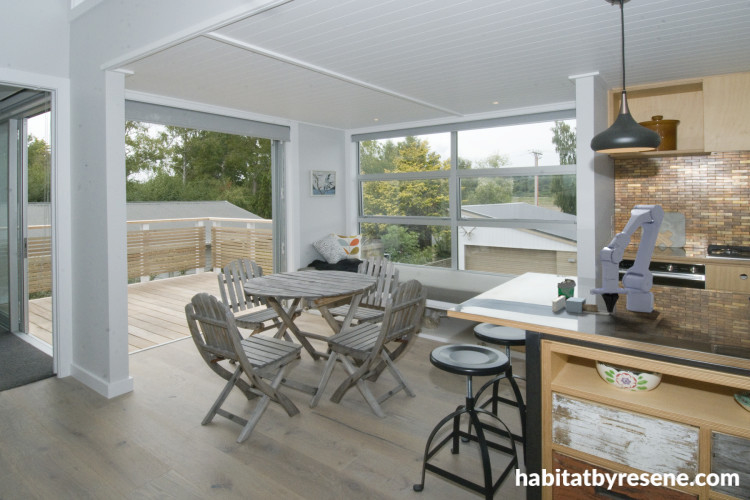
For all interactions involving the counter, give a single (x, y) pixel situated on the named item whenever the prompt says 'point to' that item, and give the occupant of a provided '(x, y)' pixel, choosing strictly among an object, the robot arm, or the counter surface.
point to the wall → (558, 303)
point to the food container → (566, 288)
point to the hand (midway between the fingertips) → (609, 312)
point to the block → (575, 304)
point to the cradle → (597, 312)
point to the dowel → (589, 307)
